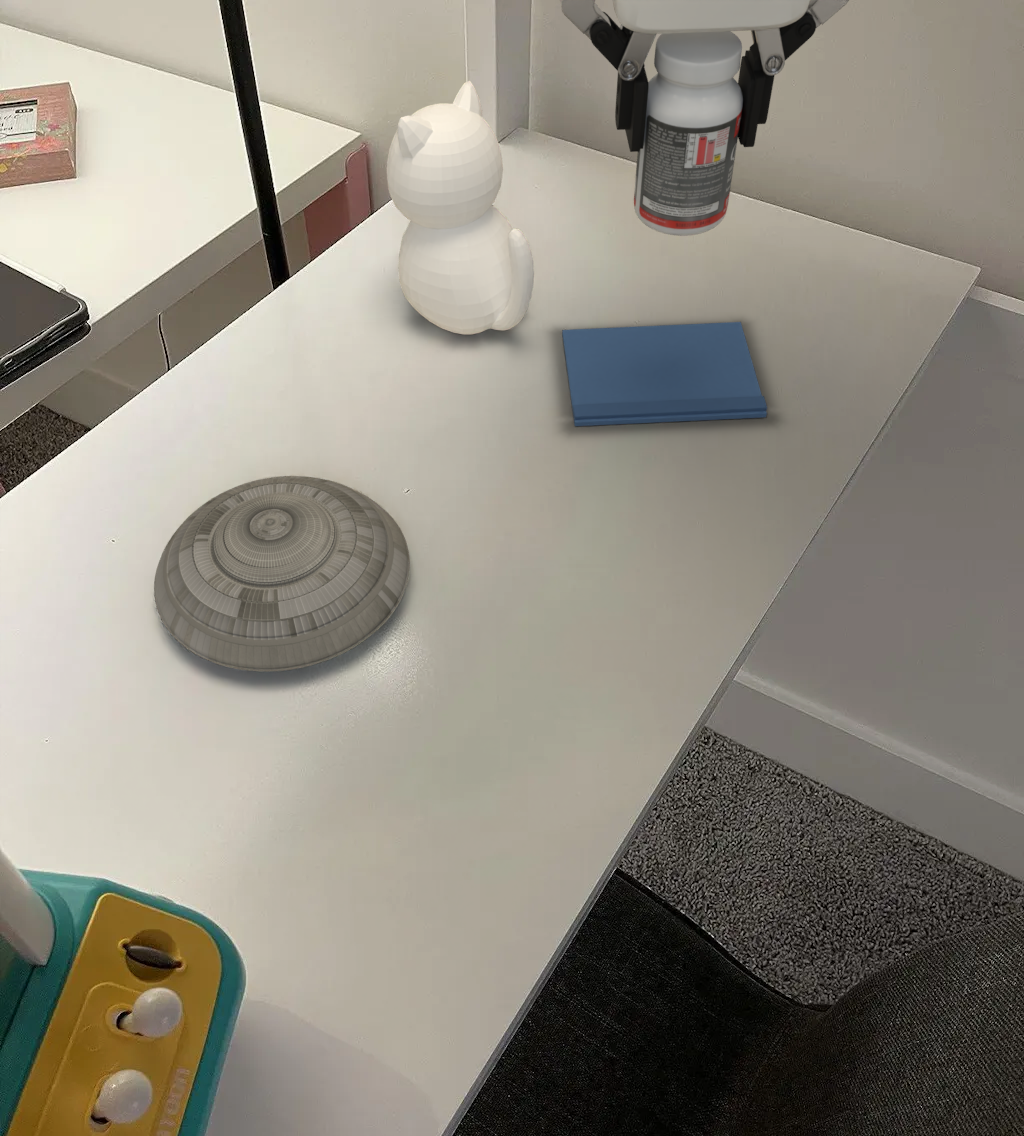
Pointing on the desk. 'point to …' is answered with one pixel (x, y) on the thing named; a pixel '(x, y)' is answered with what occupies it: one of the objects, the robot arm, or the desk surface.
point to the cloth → (661, 374)
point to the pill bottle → (689, 133)
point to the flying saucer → (281, 574)
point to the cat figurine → (457, 220)
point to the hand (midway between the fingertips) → (688, 134)
